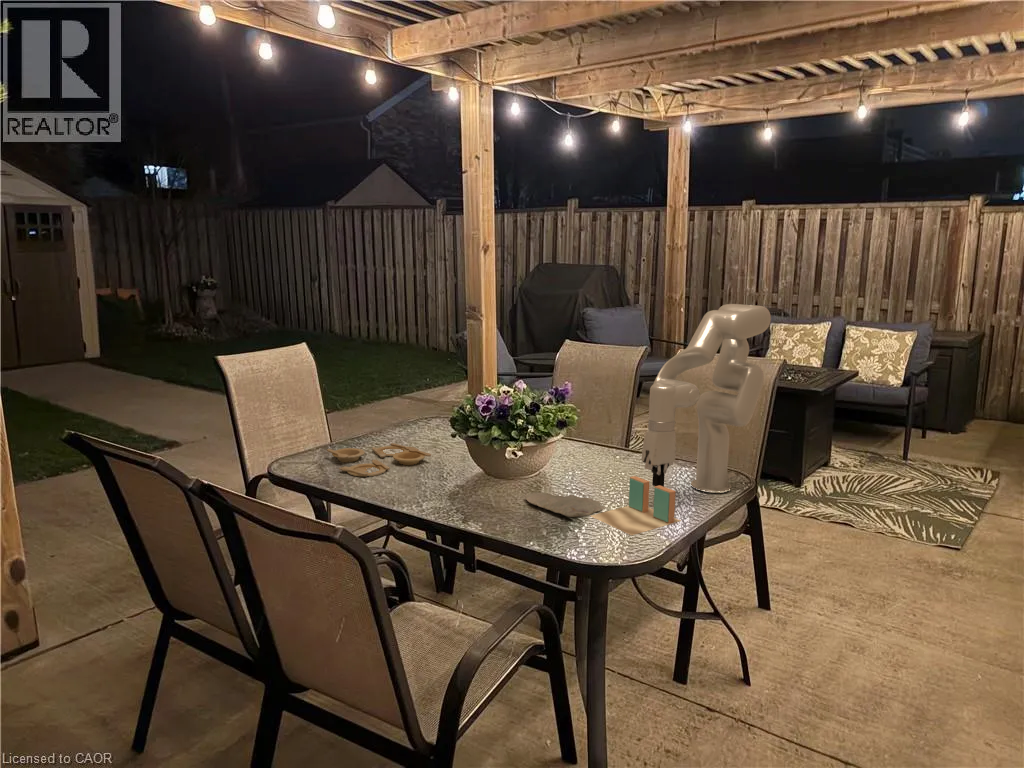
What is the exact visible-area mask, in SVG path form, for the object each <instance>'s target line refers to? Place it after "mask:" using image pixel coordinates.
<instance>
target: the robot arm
mask: <svg viewBox="0 0 1024 768" xmlns="http://www.w3.org/2000/svg"><path fill="white" fill-rule="evenodd" d="M771 319H772V316H771V312H770V310H769V309H768V308H767V307H766V306H762V305H753V304H740V303H727V304H722V306H720V307H719V308H718V309H713V310H709V311H707V312H706V313H705V314H704V315H703V317H702V319H701V320H700V323H699V324H698V327H697V328H696V329H695V332H694V334H693V336H692V337H691V339H690V340H689V341H690V342H689V343H688V345H687V347H686V348H685V349H683V350H681V351H680V352H678V353H677V354H675V355H673V357H671V358H670V359H668V360H667V361H666V362H665V363H664V364H663V365H662V367H661V368H660V370H659V372H658V373H657V374H656V375H657V376H656V377H655V379H654V382H653V384H652V385H651V386H650V388H649V403H648V423H647V424H648V426H647V427H648V428H647V430H646V431H645V433H644V438H643V443H642V449H641V450H642V452H641V462H642V463H644V464H645V465H644V469H646V470H649V471H651V473H652V486H653V487H655V486H659V485H660V486H663V487H665V477H666V476H665V474H667V472H668V471H667V470H668V468H670V467H671V466H672V465H673V464H674V461H675V460H676V457H677V437H676V436H677V435H676V430H675V426H676V409H677V408H691V407H693V406H695V405H696V411H697V419H698V439H697V455H696V456H697V458H696V474H695V479H694V480H692V481H691V482H690V486H691V485H692V486H693V487H695V488H697V489H700V490H705V491H725V490H729V489H730V488H731V489H732V485H731V484H730V483H729V481H730V480H733V479H736V473H735V472H730V473H728V466H729V447H730V433H729V429H728V427H727V425H729V426H734V427H737V428H738V427H745V426H747V425H748V424H750V422H751V420H752V418H753V416H754V413H755V410H756V408H757V404H758V401H759V399H760V395H761V392H762V390H763V387H764V381H765V378H764V377H765V375H764V371H763V369H762V367H761V366H760V365H759V364H756V363H752V362H747V359H748V356H749V353H750V345H749V342H748V339H750V338H752V337H756V336H758V335H761V334H763V333H764V332H766V330H768V329H769V326H770V324H771V321H772V320H771ZM720 347H721V348H720ZM719 349H720V351H719V354H718V357H717V360H716V363H715V366H714V369H713V371H712V376H711V382H712V384H713V385H714V387H716V388H718V389H721V390H725V391H730V392H736V393H737V394H733V393H728V392H722V391H717V390H709V391H705V392H702V393H701V394H700V392H701V391H700V389H699V388H698V386H696V384H694V383H692V382H688V381H683V380H677V378H678V377H679V376H680V375H682V374H683V373H685V372H686V371H689V370H692V369H696V368H699V367H702V366H705V365H708V364H711V362H713V361H714V359H715V356H716V354H717V352H718V350H719Z"/></svg>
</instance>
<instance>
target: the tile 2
mask: <svg viewBox="0 0 1024 768" xmlns="http://www.w3.org/2000/svg"><path fill="white" fill-rule="evenodd" d="M653 493H654V494H653V495H654V496H653V497H654V498H653V509H654V512H653V517H655V518H657V519H659V520H662V521H664V522H667V523H672V522H674V518H675V512H676V511H675V507H676V490H673V489H671V488H669V487H666V486H664V487H663V486H660V485H659V486H654V491H653Z"/></svg>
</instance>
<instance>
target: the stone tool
mask: <svg viewBox="0 0 1024 768" xmlns="http://www.w3.org/2000/svg"><path fill="white" fill-rule="evenodd" d="M524 497H525V500H526V501H527V502H528V503H529V504H532V505H534V506H538V507H539V508H543V509H544V510H547V511H551V512H553V513H556V514H561V515H562V516H565V517H567V518H582V517H583V518H584V517H589V516H591V515H594V514H595V513H596V514H597V513H601V512H602V511H603V509H604V510H605V509H606V506H604V505H601V501H599V500H594V498H591V497H581V496H576V495H574V494H571V495H566V496H565V495H559V494H557V495H553V494H551V493H548V492H534V493H533V492H530V493H527V494H525V495H524Z"/></svg>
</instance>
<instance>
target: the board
mask: <svg viewBox="0 0 1024 768" xmlns="http://www.w3.org/2000/svg"><path fill="white" fill-rule="evenodd" d="M653 512H654V508H651V507H649V506H648V511H647V512H644V513H643V512H641V511H638V510H636V509H633V508H631V507H629V505H626V506H621V507H619V508H614V509H611V510H607V511H604V512H598V513H596V514H595V513H594V514H591V515H590V517H591V518H594V519H595V520H597V521H600V522H602V523H604V524H607V525H609V526H611V527H612V528H615V529H617V530H619V531H621V532H624V533H626V534H628V535H630V536H635V535H638V534H642V533H645V532H649V531H652V530H655V529H658V528H663V527H666V526H669V525H672V524H676V523H679V522H682V520H681V519H678V518H676V517H674V522H672V523H667V522H664V521H662V520H659V519H657V518H655V517H653Z"/></svg>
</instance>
